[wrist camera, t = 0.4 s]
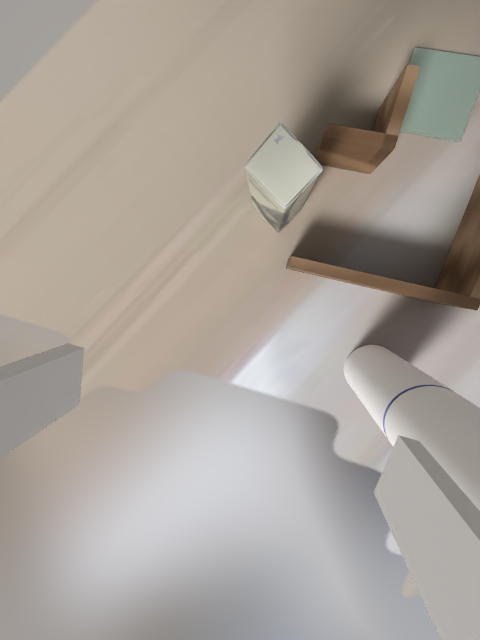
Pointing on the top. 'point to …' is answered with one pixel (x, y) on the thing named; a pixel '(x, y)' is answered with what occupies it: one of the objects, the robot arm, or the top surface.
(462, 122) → the pad
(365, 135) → the wooden u-shaped enclosure
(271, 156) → the box
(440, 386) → the cylindrical container
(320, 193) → the top surface
